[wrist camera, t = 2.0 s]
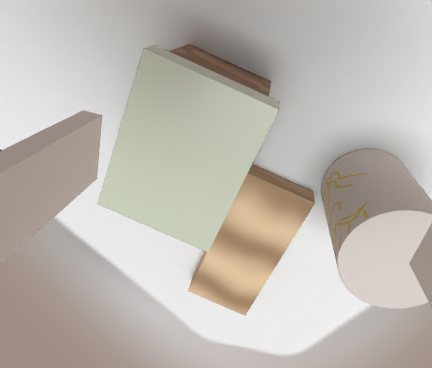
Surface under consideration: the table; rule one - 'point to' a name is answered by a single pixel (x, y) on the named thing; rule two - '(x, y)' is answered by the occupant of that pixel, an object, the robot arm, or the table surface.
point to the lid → (184, 147)
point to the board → (251, 239)
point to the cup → (376, 226)
